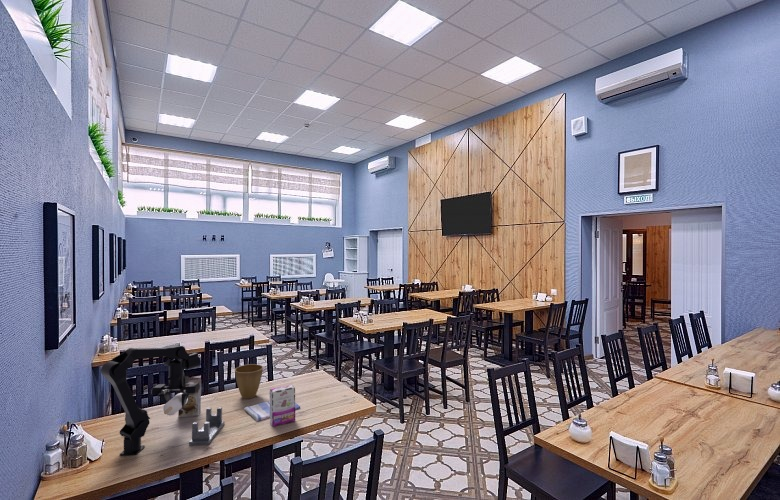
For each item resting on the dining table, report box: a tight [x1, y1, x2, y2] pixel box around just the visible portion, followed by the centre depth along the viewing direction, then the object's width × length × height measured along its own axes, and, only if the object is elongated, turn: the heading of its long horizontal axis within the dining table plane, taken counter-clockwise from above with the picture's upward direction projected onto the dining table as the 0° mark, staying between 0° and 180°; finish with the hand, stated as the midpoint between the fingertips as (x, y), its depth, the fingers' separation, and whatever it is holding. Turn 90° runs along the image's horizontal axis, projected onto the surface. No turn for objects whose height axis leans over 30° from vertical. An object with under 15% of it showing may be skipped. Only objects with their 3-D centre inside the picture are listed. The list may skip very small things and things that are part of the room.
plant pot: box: [234, 363, 264, 400], centre depth 209 cm, size 15×15×16 cm
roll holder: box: [188, 406, 225, 447], centre depth 166 cm, size 19×8×8 cm, turn 5°
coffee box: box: [177, 379, 202, 418], centre depth 186 cm, size 9×6×16 cm
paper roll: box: [163, 392, 188, 416], centre depth 167 cm, size 18×6×6 cm, turn 5°
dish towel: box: [244, 400, 301, 422], centre depth 192 cm, size 17×24×3 cm
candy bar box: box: [269, 384, 296, 428], centre depth 178 cm, size 11×5×16 cm, turn 123°
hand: (176, 407), depth 167 cm, fingers closed on paper roll, 6 cm apart
